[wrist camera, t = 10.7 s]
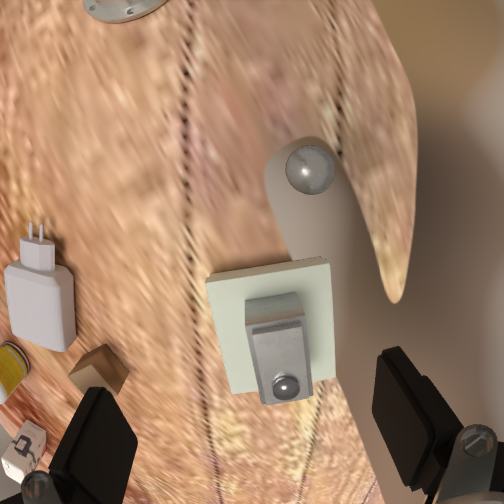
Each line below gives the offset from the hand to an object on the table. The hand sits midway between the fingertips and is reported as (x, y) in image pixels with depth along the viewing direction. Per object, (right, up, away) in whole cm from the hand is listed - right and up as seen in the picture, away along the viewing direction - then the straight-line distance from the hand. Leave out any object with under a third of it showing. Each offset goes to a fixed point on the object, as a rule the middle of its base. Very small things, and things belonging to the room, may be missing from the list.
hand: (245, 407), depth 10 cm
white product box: (-42, -31, +32) cm, 62 cm away
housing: (+3, -3, +22) cm, 22 cm away
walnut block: (-19, -10, +27) cm, 35 cm away
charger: (-26, +2, +24) cm, 35 cm away
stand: (+3, -2, +26) cm, 26 cm away
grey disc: (+6, +14, +22) cm, 26 cm away
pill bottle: (-37, -12, +27) cm, 48 cm away
